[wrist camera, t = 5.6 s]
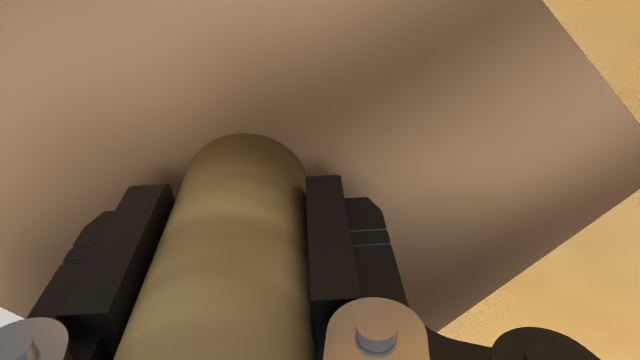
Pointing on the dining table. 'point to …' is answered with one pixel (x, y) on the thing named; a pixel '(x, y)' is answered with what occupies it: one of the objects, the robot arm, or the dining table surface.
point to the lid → (298, 151)
